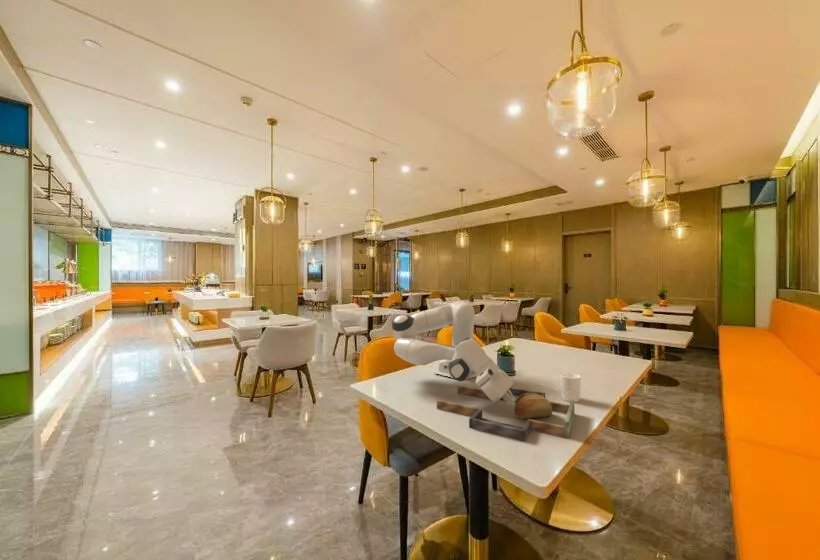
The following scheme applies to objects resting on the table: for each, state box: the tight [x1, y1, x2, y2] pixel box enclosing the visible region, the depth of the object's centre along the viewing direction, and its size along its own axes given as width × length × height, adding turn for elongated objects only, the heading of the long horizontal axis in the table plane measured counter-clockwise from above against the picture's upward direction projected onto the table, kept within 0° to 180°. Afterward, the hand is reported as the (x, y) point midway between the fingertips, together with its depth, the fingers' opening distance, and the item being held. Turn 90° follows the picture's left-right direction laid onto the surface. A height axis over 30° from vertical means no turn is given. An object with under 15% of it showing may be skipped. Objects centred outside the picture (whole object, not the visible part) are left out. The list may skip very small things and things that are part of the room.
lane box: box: [436, 385, 575, 442], centre depth 122 cm, size 47×39×5 cm
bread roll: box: [513, 393, 553, 419], centre depth 117 cm, size 10×15×8 cm, turn 108°
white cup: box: [559, 372, 582, 403], centre depth 133 cm, size 8×8×10 cm
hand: (513, 403), depth 118 cm, fingers closed, pressing on bread roll
